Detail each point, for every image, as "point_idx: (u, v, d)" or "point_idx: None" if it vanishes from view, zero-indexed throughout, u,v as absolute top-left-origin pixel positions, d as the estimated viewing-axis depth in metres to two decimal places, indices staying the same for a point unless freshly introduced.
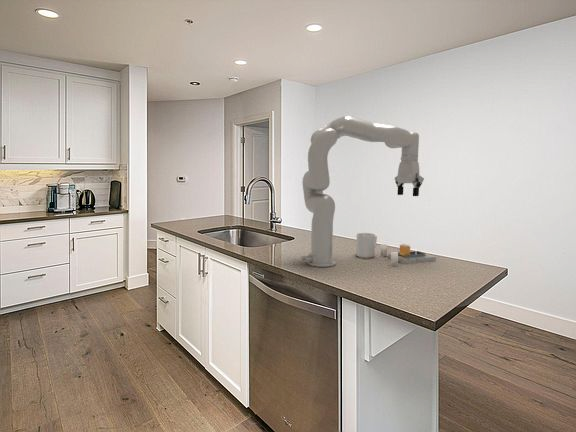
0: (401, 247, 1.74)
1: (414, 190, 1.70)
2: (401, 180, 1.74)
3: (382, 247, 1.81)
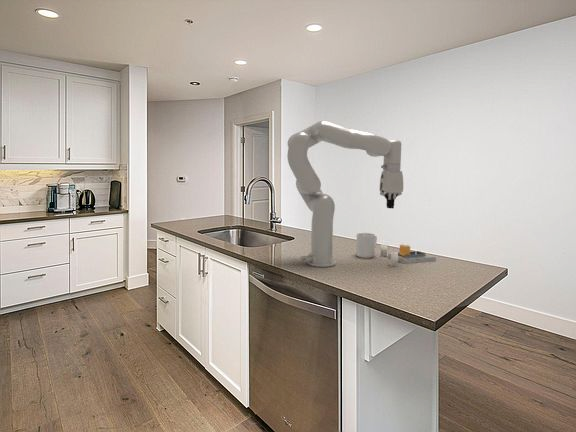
0: (401, 247, 1.74)
1: None
2: (391, 190, 1.64)
3: (382, 247, 1.81)
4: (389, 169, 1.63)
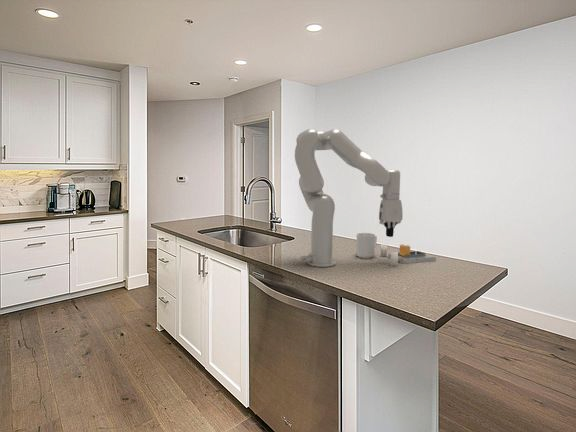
0: (401, 247, 1.74)
1: (392, 231, 1.69)
2: (390, 219, 1.66)
3: (382, 247, 1.81)
4: (388, 199, 1.65)
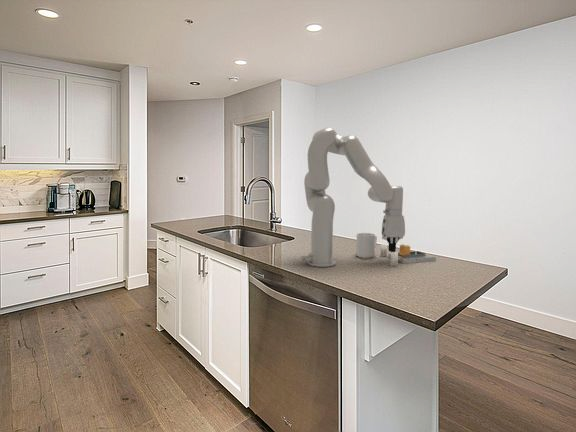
0: (401, 247, 1.74)
1: None
2: (393, 235, 1.68)
3: (382, 247, 1.81)
4: (391, 214, 1.66)
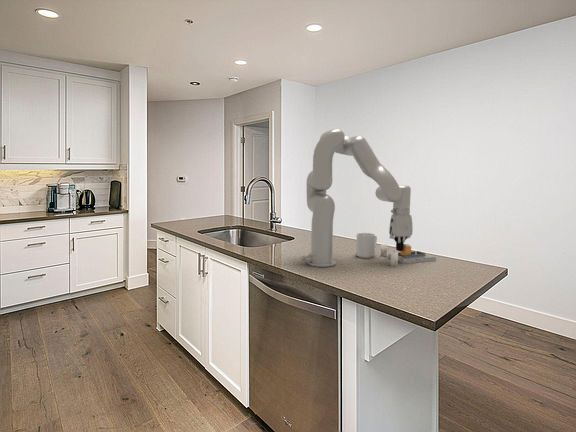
0: None
1: (402, 245, 1.72)
2: (400, 234, 1.69)
3: (382, 247, 1.81)
4: (399, 214, 1.68)
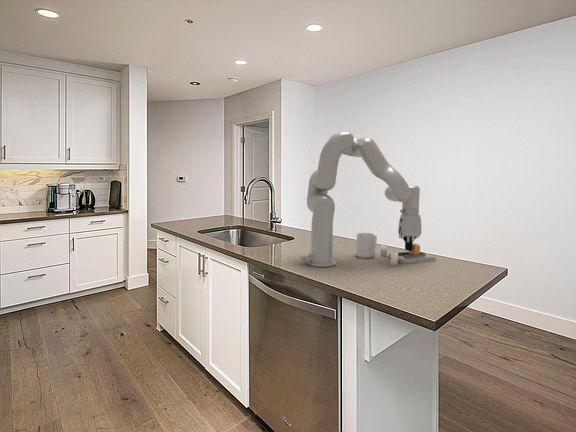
0: None
1: (411, 245, 1.73)
2: (409, 233, 1.70)
3: (382, 247, 1.81)
4: (408, 214, 1.69)
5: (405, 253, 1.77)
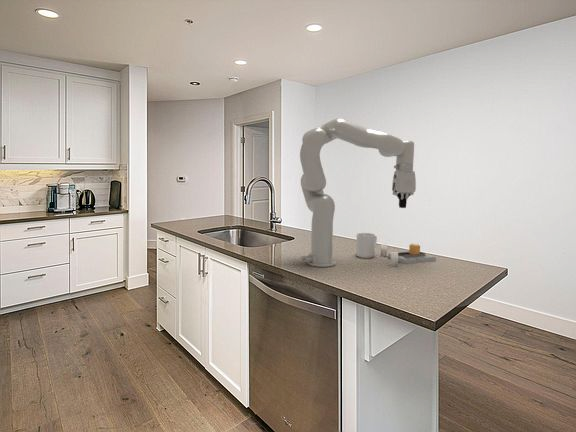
0: (411, 246, 1.75)
1: (405, 202, 1.70)
2: (403, 190, 1.67)
3: (382, 247, 1.81)
4: (402, 169, 1.66)
5: (405, 253, 1.77)
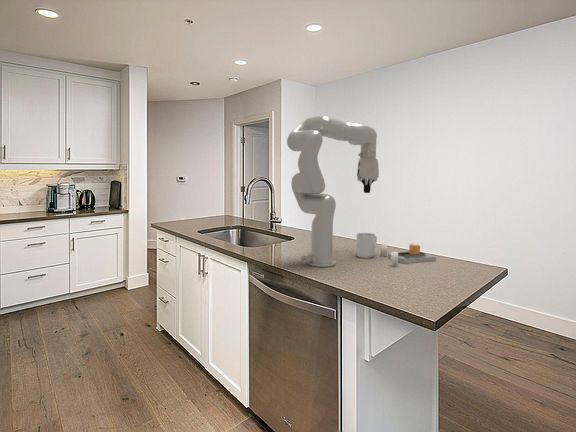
0: (411, 246, 1.75)
1: (369, 187, 1.83)
2: (367, 176, 1.80)
3: (382, 247, 1.81)
4: (365, 157, 1.79)
5: (405, 253, 1.77)
